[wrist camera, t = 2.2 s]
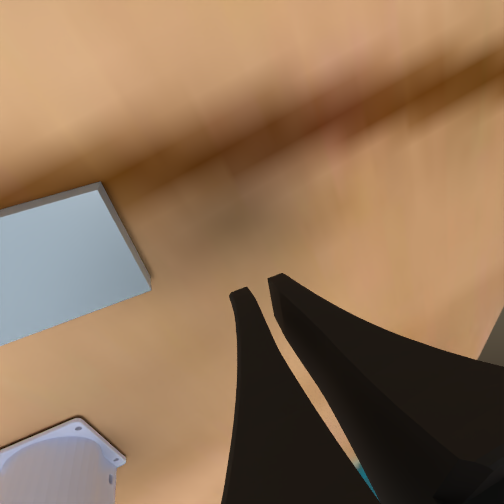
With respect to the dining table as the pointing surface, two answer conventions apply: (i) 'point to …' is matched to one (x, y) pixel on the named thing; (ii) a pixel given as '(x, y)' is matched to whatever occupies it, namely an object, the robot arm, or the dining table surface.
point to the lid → (64, 261)
